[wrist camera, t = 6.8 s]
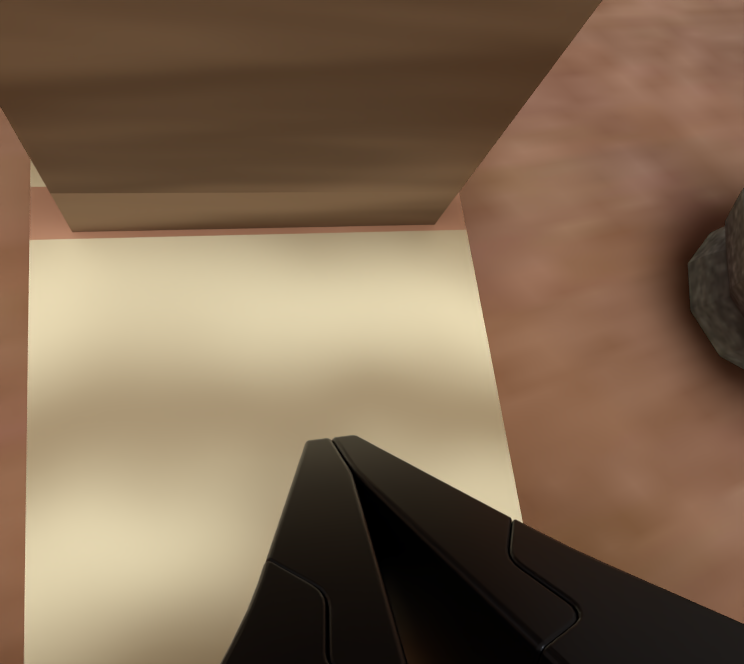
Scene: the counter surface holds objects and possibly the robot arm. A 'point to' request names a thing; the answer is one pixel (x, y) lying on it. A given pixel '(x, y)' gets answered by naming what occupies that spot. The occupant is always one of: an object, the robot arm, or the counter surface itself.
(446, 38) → the bookend block
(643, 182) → the counter surface
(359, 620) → the robot arm
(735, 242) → the mortar and pestle
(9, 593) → the counter surface
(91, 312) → the board
